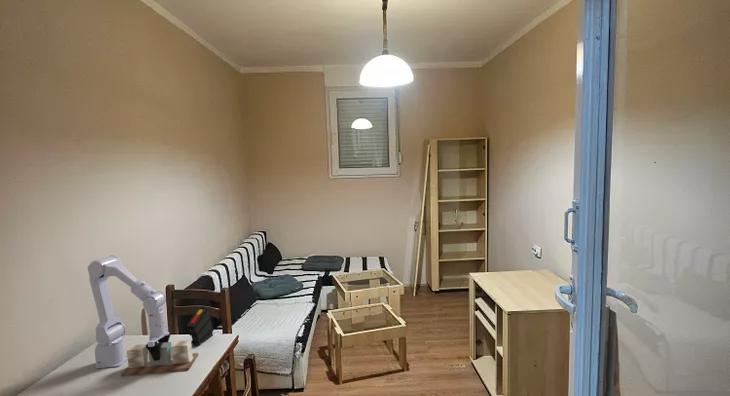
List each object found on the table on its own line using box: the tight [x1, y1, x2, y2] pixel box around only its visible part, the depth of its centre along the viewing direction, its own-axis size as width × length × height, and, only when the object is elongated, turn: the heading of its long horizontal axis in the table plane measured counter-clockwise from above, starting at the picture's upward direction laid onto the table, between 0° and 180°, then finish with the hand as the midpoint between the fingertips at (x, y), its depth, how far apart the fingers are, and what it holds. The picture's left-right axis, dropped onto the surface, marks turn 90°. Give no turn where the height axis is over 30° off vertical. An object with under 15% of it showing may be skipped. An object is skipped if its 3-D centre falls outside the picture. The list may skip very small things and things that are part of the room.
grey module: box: [148, 341, 173, 366], centre depth 163 cm, size 7×4×7 cm, turn 96°
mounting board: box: [120, 339, 199, 377], centre depth 163 cm, size 25×12×8 cm, turn 95°
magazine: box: [186, 306, 215, 347], centre depth 183 cm, size 4×13×15 cm, turn 166°
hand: (160, 355), depth 163 cm, fingers open, 7 cm apart
